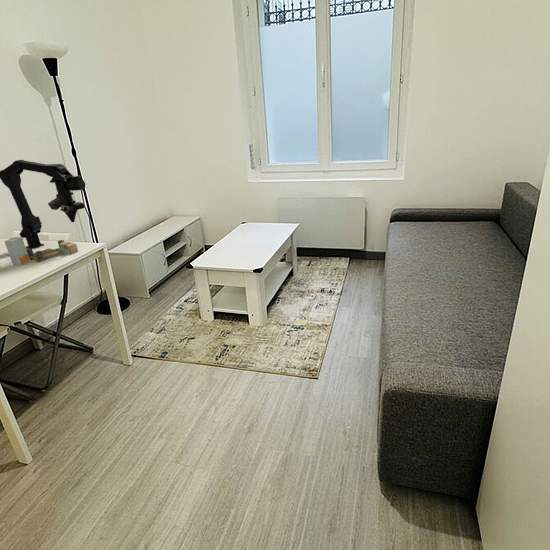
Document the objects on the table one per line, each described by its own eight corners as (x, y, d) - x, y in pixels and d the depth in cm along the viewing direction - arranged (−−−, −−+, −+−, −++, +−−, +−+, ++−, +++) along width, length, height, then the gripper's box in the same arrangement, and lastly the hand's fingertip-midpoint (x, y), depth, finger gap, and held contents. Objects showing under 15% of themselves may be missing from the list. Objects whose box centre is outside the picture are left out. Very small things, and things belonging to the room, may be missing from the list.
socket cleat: (59, 253, 188) (57, 248, 187) (62, 252, 190) (60, 247, 189) (67, 255, 185) (65, 250, 184) (70, 253, 186) (69, 249, 185)
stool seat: (27, 259, 184) (24, 250, 182) (54, 249, 194) (51, 241, 192) (39, 262, 178) (36, 253, 177) (66, 252, 189) (64, 243, 187)
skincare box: (20, 266, 175) (11, 241, 170) (12, 266, 176) (3, 241, 171) (30, 261, 181) (22, 236, 176) (23, 261, 182) (14, 236, 177)
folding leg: (58, 250, 192) (55, 241, 190) (65, 248, 195) (62, 239, 193) (71, 253, 186) (68, 244, 184) (78, 251, 188) (75, 242, 187)
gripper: (37, 193, 186) (47, 225, 193) (59, 195, 177) (68, 228, 183) (58, 189, 195) (67, 219, 201) (81, 190, 185) (89, 222, 192)
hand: (72, 222), depth 194 cm, fingers closed
